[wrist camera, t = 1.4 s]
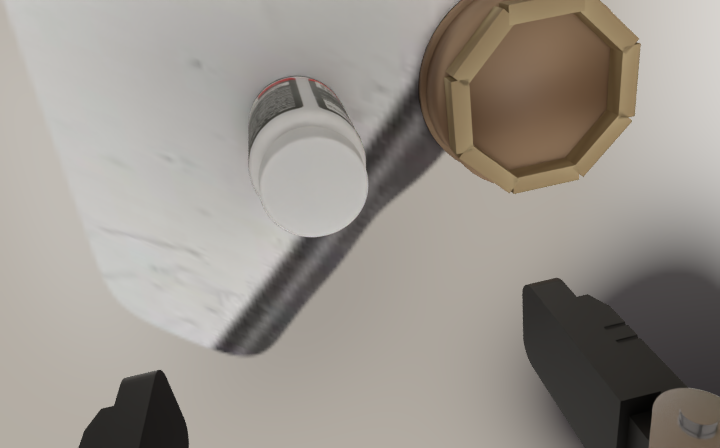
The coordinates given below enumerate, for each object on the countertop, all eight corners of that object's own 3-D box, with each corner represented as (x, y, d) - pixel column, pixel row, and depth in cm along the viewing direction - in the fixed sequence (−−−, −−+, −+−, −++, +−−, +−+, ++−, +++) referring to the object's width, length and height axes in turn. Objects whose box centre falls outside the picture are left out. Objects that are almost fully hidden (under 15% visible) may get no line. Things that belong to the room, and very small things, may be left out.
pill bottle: (248, 167, 28) (247, 248, 21) (248, 71, 26) (246, 125, 19) (341, 168, 29) (371, 247, 22) (348, 77, 27) (384, 130, 20)
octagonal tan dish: (408, -4, 26) (432, 6, 22) (604, -41, 26) (658, -38, 23) (428, 184, 30) (451, 217, 27) (595, 148, 31) (639, 175, 27)
